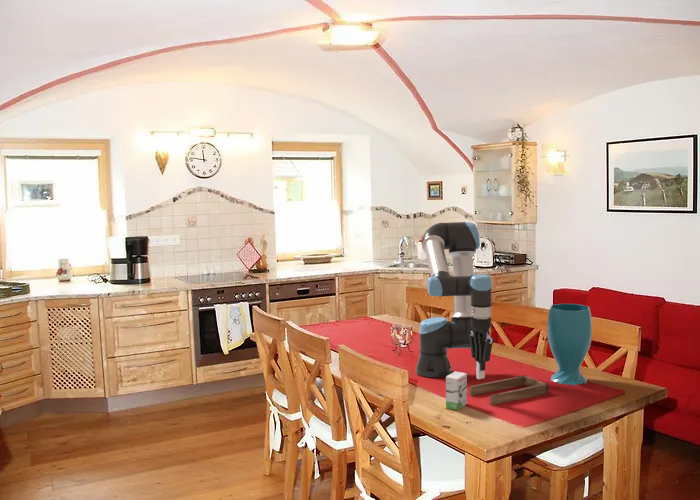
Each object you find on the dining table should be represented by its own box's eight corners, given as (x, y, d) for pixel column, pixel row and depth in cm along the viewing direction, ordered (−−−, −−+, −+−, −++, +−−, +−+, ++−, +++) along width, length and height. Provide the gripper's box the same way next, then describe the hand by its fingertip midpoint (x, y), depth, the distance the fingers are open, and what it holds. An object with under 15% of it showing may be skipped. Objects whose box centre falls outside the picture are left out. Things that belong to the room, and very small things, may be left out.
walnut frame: (469, 395, 254) (469, 386, 254) (524, 383, 267) (524, 375, 266) (491, 405, 242) (491, 396, 242) (548, 393, 255) (548, 384, 254)
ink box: (457, 410, 238) (457, 378, 236) (445, 408, 240) (445, 376, 239) (467, 403, 245) (467, 372, 244) (455, 401, 248) (455, 370, 246)
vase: (567, 388, 260) (568, 313, 256) (537, 376, 275) (538, 305, 272) (600, 382, 267) (602, 308, 263) (570, 370, 282) (571, 301, 279)
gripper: (462, 314, 249) (461, 374, 252) (483, 321, 237) (483, 385, 241) (478, 311, 252) (477, 371, 256) (500, 319, 241) (499, 381, 244)
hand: (480, 378), depth 248 cm, fingers closed
